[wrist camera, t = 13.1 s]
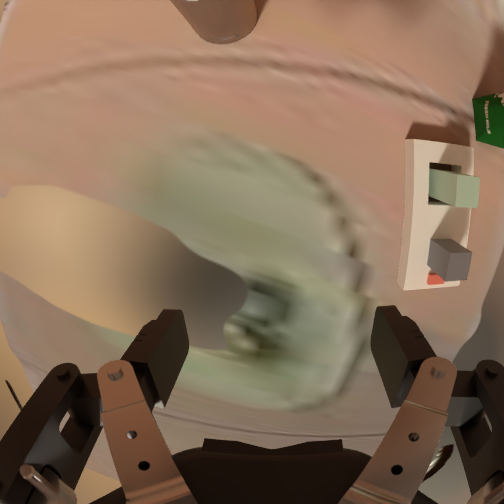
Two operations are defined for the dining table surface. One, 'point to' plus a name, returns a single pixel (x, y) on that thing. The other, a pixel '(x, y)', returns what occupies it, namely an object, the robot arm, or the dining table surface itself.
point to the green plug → (454, 188)
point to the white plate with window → (433, 220)
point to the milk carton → (489, 119)
